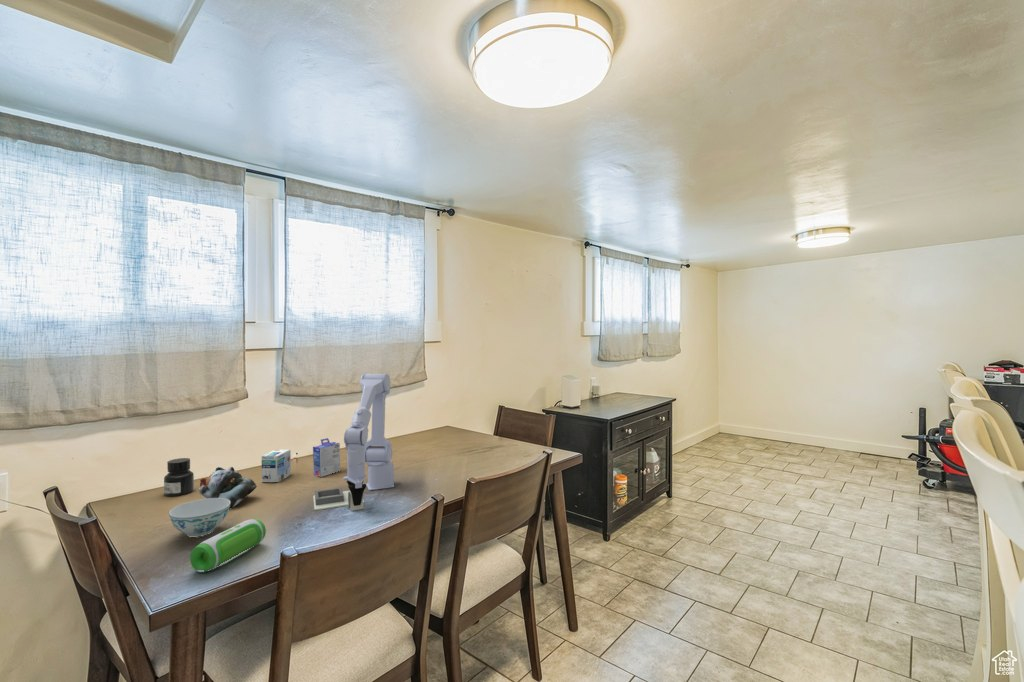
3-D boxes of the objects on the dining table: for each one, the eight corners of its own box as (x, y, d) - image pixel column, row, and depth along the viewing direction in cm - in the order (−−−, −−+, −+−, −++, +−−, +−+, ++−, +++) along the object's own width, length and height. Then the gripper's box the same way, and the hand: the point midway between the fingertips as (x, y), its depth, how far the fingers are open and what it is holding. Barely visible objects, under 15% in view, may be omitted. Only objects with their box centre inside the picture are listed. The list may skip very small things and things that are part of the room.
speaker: (246, 541, 129) (246, 515, 129) (267, 544, 127) (267, 518, 127) (188, 573, 112) (187, 543, 112) (211, 577, 110) (211, 546, 110)
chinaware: (162, 548, 125) (161, 520, 125) (177, 527, 139) (177, 502, 138) (225, 538, 131) (225, 512, 131) (234, 519, 145) (234, 495, 144)
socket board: (359, 490, 171) (359, 483, 171) (364, 503, 158) (364, 496, 158) (313, 497, 164) (313, 490, 164) (314, 510, 151) (314, 503, 151)
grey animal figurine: (227, 512, 150) (204, 477, 148) (208, 520, 155) (185, 486, 153) (264, 485, 163) (243, 453, 161) (245, 493, 168) (224, 462, 167)
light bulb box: (277, 483, 179) (277, 456, 179) (260, 483, 180) (260, 455, 179) (291, 474, 190) (291, 449, 190) (275, 474, 190) (275, 449, 190)
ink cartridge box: (333, 469, 198) (332, 436, 197) (341, 471, 195) (341, 437, 194) (312, 475, 189) (312, 440, 189) (320, 477, 186) (320, 442, 186)
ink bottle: (158, 494, 167) (158, 461, 167) (185, 487, 175) (184, 455, 175) (172, 498, 162) (172, 465, 162) (199, 491, 170) (199, 459, 170)
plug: (361, 504, 157) (361, 487, 157) (363, 508, 153) (363, 491, 153) (347, 506, 155) (347, 489, 155) (348, 510, 151) (348, 493, 151)
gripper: (341, 459, 159) (342, 497, 159) (345, 470, 146) (345, 512, 146) (362, 456, 162) (363, 494, 162) (368, 467, 149) (368, 508, 149)
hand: (356, 502), depth 154 cm, fingers closed on plug, 4 cm apart
